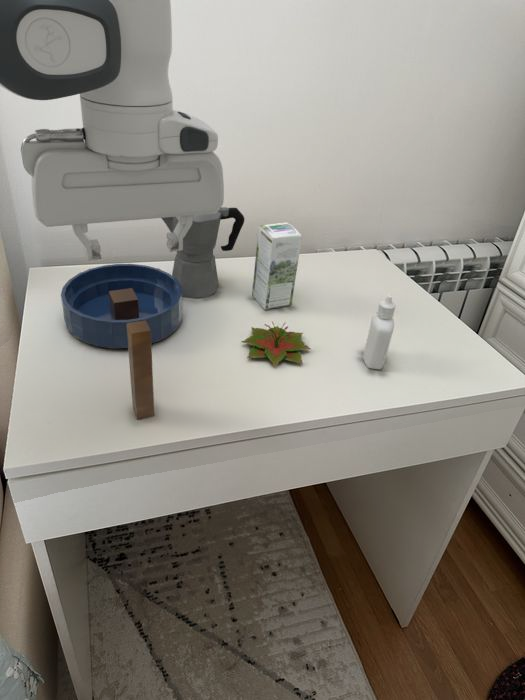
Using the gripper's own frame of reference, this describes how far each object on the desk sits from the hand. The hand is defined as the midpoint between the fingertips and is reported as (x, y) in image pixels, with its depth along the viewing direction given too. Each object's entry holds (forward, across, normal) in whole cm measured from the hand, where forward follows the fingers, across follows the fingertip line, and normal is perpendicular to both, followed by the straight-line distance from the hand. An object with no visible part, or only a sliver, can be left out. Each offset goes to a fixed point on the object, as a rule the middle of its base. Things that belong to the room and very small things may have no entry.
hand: (135, 253), depth 62 cm
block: (+22, +2, +22) cm, 31 cm away
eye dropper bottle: (+22, +37, -2) cm, 44 cm away
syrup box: (+22, +29, +20) cm, 42 cm away
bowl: (+22, +2, +22) cm, 31 cm away
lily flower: (+22, +23, +6) cm, 33 cm away
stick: (+22, -1, -3) cm, 23 cm away
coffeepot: (+22, +18, +29) cm, 41 cm away
